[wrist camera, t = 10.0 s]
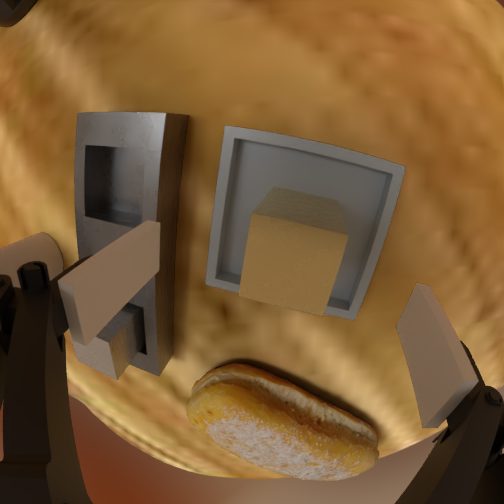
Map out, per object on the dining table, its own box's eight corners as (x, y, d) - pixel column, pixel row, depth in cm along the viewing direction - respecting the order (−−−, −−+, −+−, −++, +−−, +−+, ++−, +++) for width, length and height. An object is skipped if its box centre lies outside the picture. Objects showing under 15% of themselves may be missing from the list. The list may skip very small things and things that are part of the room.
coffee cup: (65, 225, 29) (-35, 281, 15) (77, 294, 33) (0, 362, 19) (23, 217, 30) (-60, 261, 17) (36, 279, 34) (-34, 331, 21)
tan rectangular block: (273, 185, 22) (251, 213, 15) (337, 200, 21) (348, 235, 14) (262, 245, 24) (238, 296, 17) (322, 259, 23) (322, 316, 16)
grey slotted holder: (105, 112, 23) (77, 112, 19) (188, 115, 22) (166, 113, 18) (111, 330, 34) (94, 348, 30) (173, 353, 33) (159, 376, 29)
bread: (232, 333, 30) (208, 389, 22) (399, 421, 31) (404, 469, 24) (185, 389, 35) (162, 434, 28) (333, 458, 37) (330, 499, 29)
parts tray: (234, 126, 21) (225, 125, 19) (396, 163, 20) (405, 166, 18) (214, 271, 27) (205, 284, 25) (352, 305, 25) (354, 320, 23)
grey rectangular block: (113, 282, 29) (66, 322, 22) (152, 295, 28) (108, 342, 21) (117, 318, 31) (77, 360, 24) (153, 332, 30) (117, 380, 23)
